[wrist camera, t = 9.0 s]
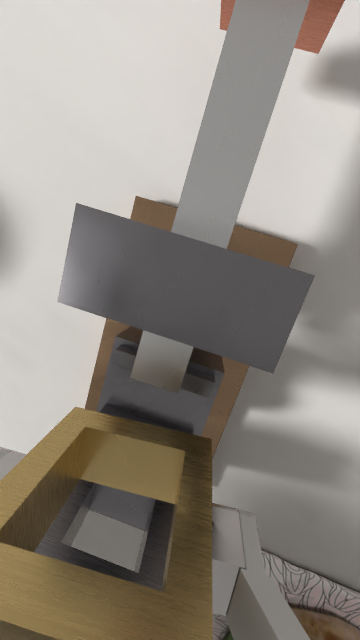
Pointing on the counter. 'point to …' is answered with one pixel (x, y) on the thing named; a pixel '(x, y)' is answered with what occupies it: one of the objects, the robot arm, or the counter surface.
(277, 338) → the shaft rig
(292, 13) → the shaft
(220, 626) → the cookie jar
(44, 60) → the counter surface
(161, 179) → the counter surface
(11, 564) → the frame
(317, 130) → the counter surface
